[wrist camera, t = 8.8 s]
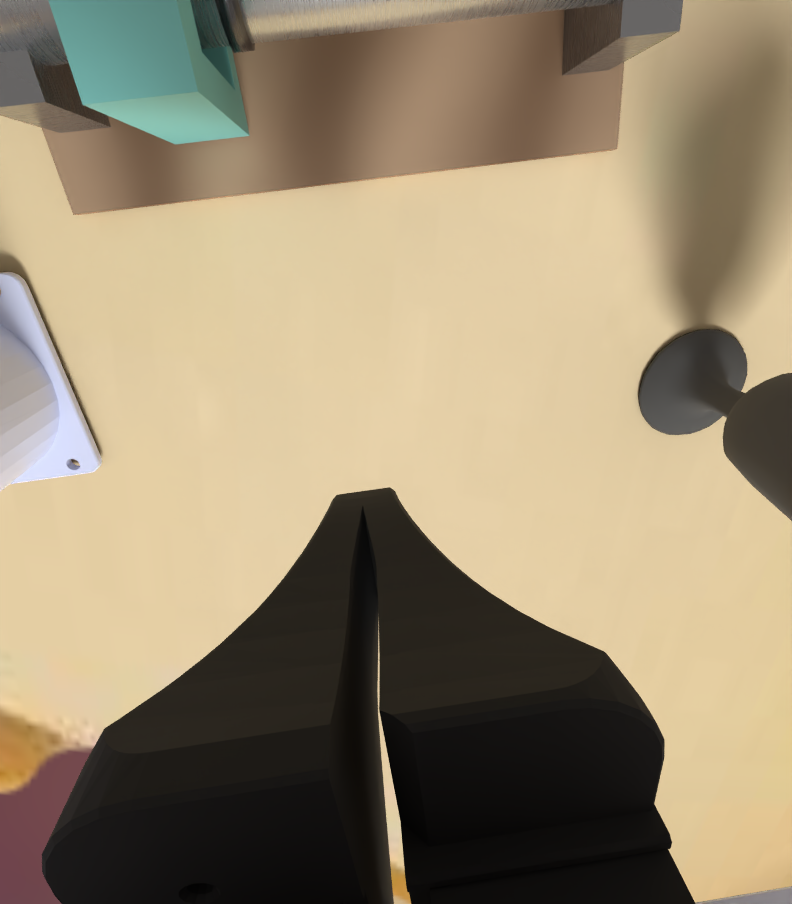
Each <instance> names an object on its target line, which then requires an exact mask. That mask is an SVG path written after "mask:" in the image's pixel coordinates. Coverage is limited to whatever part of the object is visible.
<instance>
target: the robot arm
mask: <svg viewBox="0 0 792 904" xmlns="http://www.w3.org/2000/svg"><path fill="white" fill-rule="evenodd" d="M0 289H1V295H0V491H2V490H3V489H4V488H5V487H7V486H8V485H9V484H14V483H21V482H28V481H35V480H42V479H50V478H57V477H64V476H71V475H78V474H85V473H91V472H94V471H96V470H97V469H98V468H99V467H100V466H101V463H102V459H101V456H100V453H99V451H98V449H97V446H96V444H95V442H94V439H93V437H92V435H91V432H90V430H89V428H88V425H87V423H86V421H85V418H84V416H83V414H82V411H81V409H80V407H79V404H78V402H77V400H76V397H75V395H74V393H73V390H72V388H71V386H70V383H69V381H68V378H67V376H66V374H65V371H64V369H63V367H62V364H61V362H60V360H59V357H58V355H57V353H56V350H55V348H54V346H53V343H52V341H51V339H50V336H49V334H48V332H47V329H46V327H45V325H44V322H43V320H42V318H41V315H40V313H39V311H38V308H37V306H36V304H35V301H34V299H33V297H32V294H31V292H30V290H29V287H28V285H27V283H26V282H25V280H24V279H23V278H22V277H21V276H19V275H18V274H15V273H13V272H2V273H0ZM71 459H75V460H77V461H78V462H79V463H80V466H77V465H75V464H73V463H72V461H71ZM378 621H379V646H380V703H379V711H380V716H381V721H382V726H383V732H384V737H385V742H386V747H387V753H388V758H389V763H390V768H391V774H392V779H393V784H394V789H395V794H396V800H397V805H398V810H399V815H400V821H401V831H402V843H403V855H404V866H405V878H406V886H407V891H408V892H409V894H410V899H411V904H792V886H791V887H785V888H779V889H773V890H767V891H761V892H756V893H750V894H744V895H738V896H732V897H726V898H720V899H714V900H709V901H703V902H697V903H695V902H694V900H693V898H692V896H691V894H690V892H689V890H688V888H687V886H686V884H685V882H684V880H683V878H682V876H681V874H680V872H679V870H678V868H677V866H676V864H675V862H674V860H673V858H672V856H671V854H670V852H669V850H668V849H670V848H671V844H672V841H671V838H670V834H669V832H668V830H667V828H666V826H665V824H664V822H663V820H662V818H661V816H660V814H659V813H658V811H657V809H656V807H655V805H654V802H655V797H656V793H657V788H658V784H659V779H660V774H661V770H662V765H663V761H664V738H663V736H662V734H661V731H660V729H659V727H658V725H657V723H656V721H655V720H654V718H653V716H652V715H651V713H650V711H649V710H648V708H647V707H646V705H645V703H644V702H643V700H642V699H641V697H640V696H639V694H638V693H637V692H636V691H635V689H634V688H633V687H632V685H631V684H630V683H629V681H628V680H627V679H626V678H625V676H624V675H623V674H622V673H621V671H620V670H619V669H618V667H617V666H616V665H615V664H614V662H613V661H612V660H611V659H610V657H609V656H608V655H607V654H606V653H605V652H604V651H602V650H599V649H597V648H595V647H593V646H590V645H588V644H586V643H583V642H581V641H579V640H577V639H574V638H572V637H570V636H567V635H565V634H563V633H561V632H558V631H556V630H554V629H552V628H550V627H548V626H546V625H544V624H542V623H540V622H538V621H536V620H534V619H533V618H531V617H529V616H527V615H525V614H523V613H521V612H520V611H518V610H516V609H515V608H513V607H511V606H510V605H508V604H507V603H505V602H504V601H502V600H501V599H499V598H497V597H496V596H494V595H493V594H491V593H490V592H488V591H487V590H485V589H484V588H483V587H481V586H480V585H479V584H477V583H476V582H475V581H473V580H472V579H471V578H470V577H468V576H467V575H466V574H465V573H464V572H462V571H461V570H460V569H459V568H458V567H456V566H455V565H454V564H453V563H452V562H451V561H450V560H449V559H448V558H447V557H446V556H445V555H444V554H443V553H442V552H441V551H440V550H439V549H438V548H437V547H436V546H435V545H434V544H433V543H432V542H431V541H430V540H429V539H428V538H427V537H426V536H425V534H424V533H423V532H422V531H421V530H420V528H419V527H418V526H417V525H416V524H415V522H414V521H413V520H412V518H411V517H410V516H409V514H408V513H407V511H406V510H405V509H404V507H403V506H402V504H401V502H400V501H399V499H398V497H397V495H396V492H395V491H394V490H393V489H391V488H383V489H376V490H368V491H361V492H354V493H347V494H340V495H336V497H335V498H334V499H333V500H332V502H331V505H330V507H329V509H328V510H327V512H326V514H325V516H324V518H323V520H322V522H321V523H320V525H319V527H318V529H317V530H316V532H315V533H314V535H313V537H312V538H311V540H310V541H309V543H308V545H307V546H306V548H305V549H304V551H303V552H302V554H301V555H300V557H299V558H298V559H297V561H296V562H295V563H294V565H293V566H292V568H291V569H290V570H289V572H288V573H287V574H286V576H285V577H284V578H283V580H282V581H281V582H280V583H279V585H278V586H277V587H276V588H275V590H274V591H273V592H272V593H271V594H270V595H269V597H268V598H267V599H266V600H265V601H264V602H263V603H262V604H261V605H260V607H259V608H258V609H257V610H256V611H255V612H254V613H253V614H252V615H251V616H250V617H248V618H247V619H246V620H245V621H244V622H243V623H242V624H241V625H240V626H239V627H238V628H237V629H236V630H235V631H234V632H233V633H232V634H231V635H229V636H228V637H227V638H226V639H225V640H224V641H223V642H222V643H221V644H220V645H218V646H217V647H216V648H215V649H214V650H213V651H211V652H210V653H209V654H208V655H207V656H205V657H204V658H203V659H202V660H201V661H199V662H198V663H197V664H195V665H194V666H193V667H192V668H190V669H189V670H188V671H186V672H185V673H184V674H183V675H181V676H180V677H179V678H177V679H176V680H175V681H173V682H172V683H171V684H169V685H168V686H167V687H165V688H164V689H162V690H161V691H160V692H158V693H157V694H155V695H154V696H152V697H151V698H149V699H148V700H146V701H145V702H143V703H142V704H141V705H139V706H138V707H136V708H135V709H133V710H132V711H130V712H129V713H127V714H126V715H125V716H123V717H122V718H120V719H119V720H117V721H116V722H114V723H112V724H111V725H109V726H108V727H106V728H105V729H104V730H103V732H102V734H101V736H100V738H99V739H98V741H97V743H96V745H95V747H94V748H93V750H92V752H91V754H90V755H89V757H88V759H87V761H86V763H85V765H84V767H83V769H82V771H81V773H80V775H79V777H78V779H77V782H76V784H75V786H74V788H73V790H72V792H71V794H70V796H69V799H68V801H67V803H66V805H65V807H64V809H63V811H62V814H61V815H60V817H59V820H58V822H57V824H56V826H55V828H54V830H53V832H52V834H51V836H50V838H49V841H48V843H47V845H46V847H45V849H44V851H43V853H42V872H43V875H44V877H45V879H46V881H47V883H48V884H49V886H50V888H51V890H52V892H53V893H54V895H55V896H56V897H57V899H58V900H59V901H60V902H61V903H62V904H394V902H393V891H392V880H391V868H390V856H389V845H388V833H387V822H386V810H385V797H384V785H383V773H382V760H381V747H380V734H379V721H378V698H377V681H378Z"/></svg>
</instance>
